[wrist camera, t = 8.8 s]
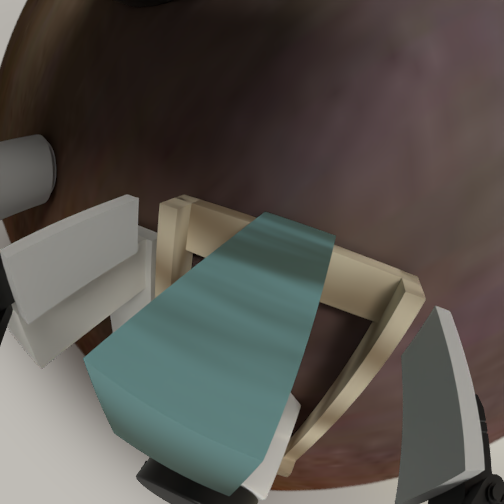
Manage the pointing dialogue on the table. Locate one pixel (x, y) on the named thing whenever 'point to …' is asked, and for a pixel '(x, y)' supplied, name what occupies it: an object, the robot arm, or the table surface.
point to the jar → (207, 500)
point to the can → (25, 173)
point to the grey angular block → (91, 304)
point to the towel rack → (240, 339)
